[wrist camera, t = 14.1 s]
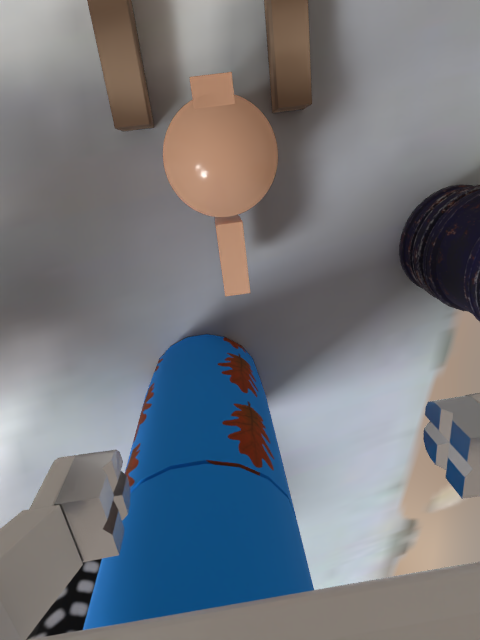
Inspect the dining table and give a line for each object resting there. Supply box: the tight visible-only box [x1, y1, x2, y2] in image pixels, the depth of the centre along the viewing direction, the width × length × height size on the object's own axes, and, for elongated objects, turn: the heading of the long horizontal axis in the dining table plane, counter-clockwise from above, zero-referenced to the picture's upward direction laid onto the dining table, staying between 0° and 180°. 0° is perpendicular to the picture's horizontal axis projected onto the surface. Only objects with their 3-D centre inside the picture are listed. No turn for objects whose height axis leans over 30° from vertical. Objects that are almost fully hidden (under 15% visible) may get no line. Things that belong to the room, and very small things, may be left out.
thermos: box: [83, 334, 314, 630], centre depth 27 cm, size 11×11×25 cm
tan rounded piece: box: [163, 72, 278, 296], centre depth 28 cm, size 13×7×8 cm, turn 7°
